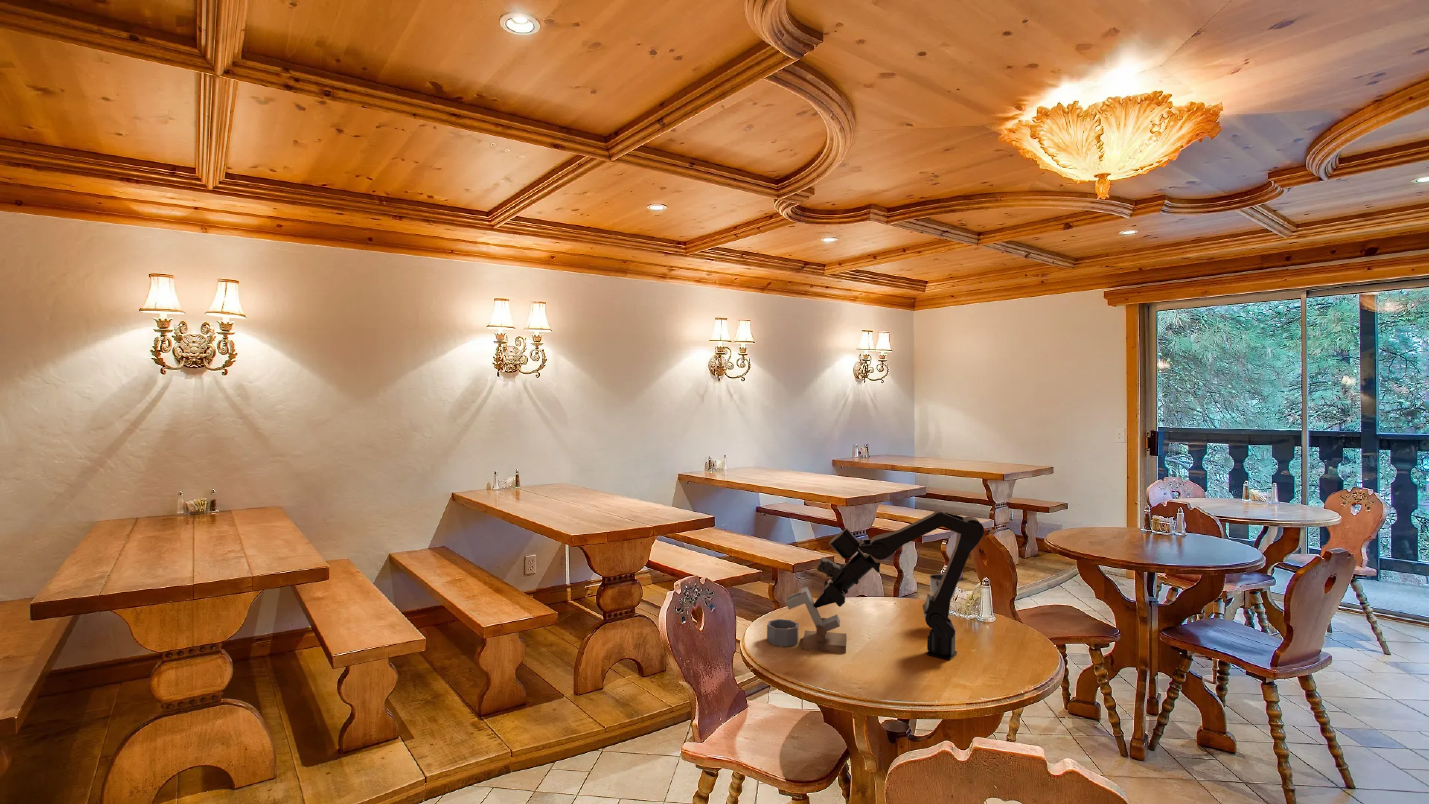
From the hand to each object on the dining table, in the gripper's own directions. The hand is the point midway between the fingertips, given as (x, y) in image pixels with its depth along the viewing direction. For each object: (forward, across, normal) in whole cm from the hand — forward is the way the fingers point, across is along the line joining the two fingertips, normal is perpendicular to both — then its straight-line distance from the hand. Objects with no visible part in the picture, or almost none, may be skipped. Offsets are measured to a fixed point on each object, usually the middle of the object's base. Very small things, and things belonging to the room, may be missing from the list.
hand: (814, 606), depth 204 cm
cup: (+14, 0, +1) cm, 14 cm away
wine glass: (-19, -25, +35) cm, 47 cm away
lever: (+3, 0, +7) cm, 8 cm away
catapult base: (+6, 0, +9) cm, 11 cm away
